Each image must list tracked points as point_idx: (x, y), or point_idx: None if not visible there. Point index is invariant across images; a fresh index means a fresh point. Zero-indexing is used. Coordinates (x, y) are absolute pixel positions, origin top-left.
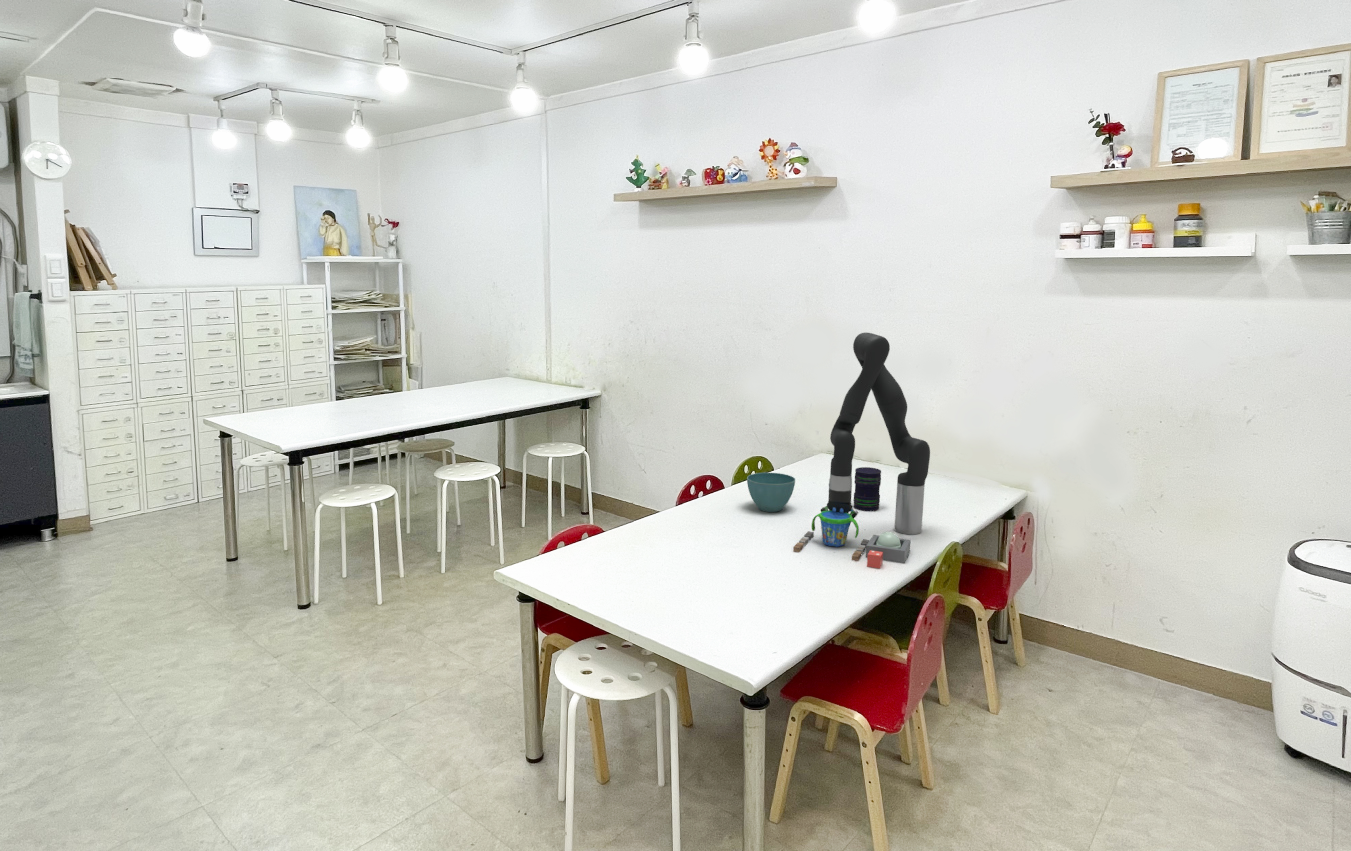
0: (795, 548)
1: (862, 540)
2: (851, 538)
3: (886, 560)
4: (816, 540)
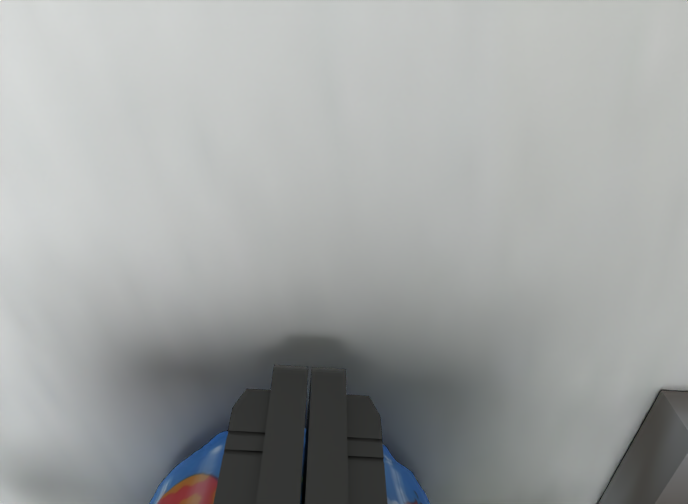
0: None
1: (665, 489)
2: (506, 261)
3: None
4: (60, 464)
